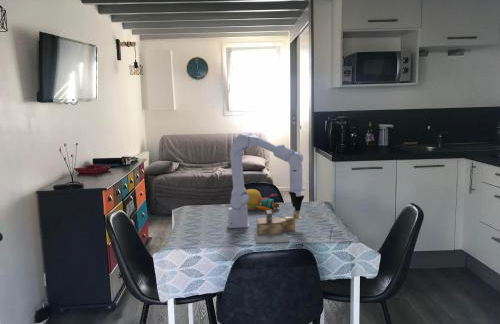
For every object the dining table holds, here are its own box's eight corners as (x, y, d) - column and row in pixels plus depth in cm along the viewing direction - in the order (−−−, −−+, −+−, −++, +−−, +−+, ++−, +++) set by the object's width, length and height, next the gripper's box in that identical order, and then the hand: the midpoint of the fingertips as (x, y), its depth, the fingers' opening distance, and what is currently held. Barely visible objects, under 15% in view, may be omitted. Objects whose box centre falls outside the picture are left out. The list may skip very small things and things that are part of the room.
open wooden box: (257, 234, 198) (257, 223, 197) (256, 228, 207) (256, 218, 206) (295, 232, 198) (295, 222, 198) (293, 226, 207) (293, 216, 207)
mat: (256, 243, 184) (256, 242, 184) (254, 235, 196) (254, 234, 196) (289, 242, 185) (289, 241, 185) (286, 233, 197) (286, 233, 197)
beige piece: (285, 220, 201) (285, 211, 200) (285, 218, 203) (285, 210, 203) (301, 219, 201) (301, 211, 200) (300, 218, 204) (300, 209, 203)
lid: (257, 227, 197) (257, 214, 196) (256, 222, 206) (256, 209, 205) (282, 226, 198) (282, 213, 197) (280, 221, 207) (280, 208, 206)
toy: (281, 209, 249) (239, 201, 256) (284, 191, 247) (241, 182, 254) (272, 218, 232) (228, 208, 239) (275, 198, 230) (230, 189, 237)
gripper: (307, 181, 193) (307, 212, 194) (302, 176, 207) (302, 204, 209) (291, 182, 192) (291, 212, 194) (287, 176, 207) (287, 205, 208)
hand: (296, 208), depth 201 cm, fingers open, 7 cm apart
